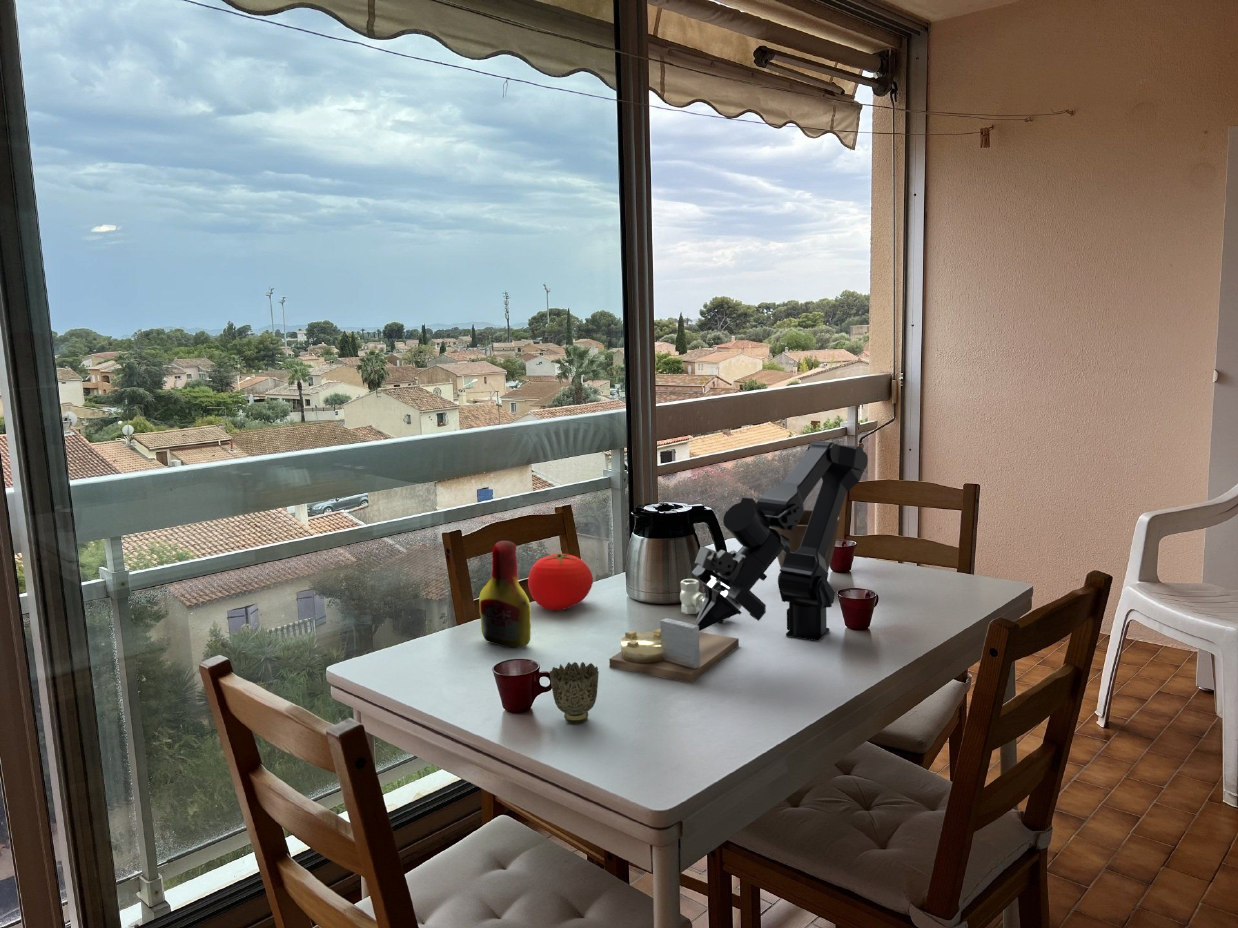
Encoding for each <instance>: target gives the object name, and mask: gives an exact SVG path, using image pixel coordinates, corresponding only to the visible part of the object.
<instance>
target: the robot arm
mask: <svg viewBox="0 0 1238 928" xmlns="http://www.w3.org/2000/svg"><path fill="white" fill-rule="evenodd" d="M868 459H869V458H868V455H867V453H866V452H865V451H864V449H863V447H861V446H859V445H847V444H846V445H845V444H838V443H835V442H833V441H821V440H820V441H819V440H815V441H813V442H810V443H809V445H808V446H807V451H806V452H805V453H804V455H803V456H802V457H801V459H800V460H799V461H798V463H796V465H795V466H794V467H793V469H792V470H791V472H790V473H789V474H788V475H787V476H786V478H785V479H784V481H782V482H781V483H780V484H779V485H775V486H774V487H773V486H772V488H771V487H770V488H769V489H767V491H765V492H764V493H763V494H762V495H761V496H760V497H759V498H758V499H757V501H755V500H754V498H752V497H745V496H743V497H742V498H741V500H740V502H737V503H735V504H733V505H732V506H731V507H729V508H728V509H727V511H725V513H724V514H723V517H722V518H723V519H722V521H723V525H724V527H725V528H726V529H727V531H728V533H730V534H731V536H732V537H734V539H735V540H737V542H738V543H739V544H740V545H741V547H740V549H739V550H738V551H736V550H734V549H732V550H730V551H726V550H724V549H720V550H719V551H716V550H713V549H711V548H708V547H705V546H702V545H701V546H700V547H699V550H698V552H697V556H696V558H695V559H694V560H695V561H694V564H696V566H695V568H694V569H693V570H692V572H691V573H692V575H694V576H695V577H696V578H697V580H698V581H700V582H702V587H703V590H704V594H705V599H704V602H703V605H702V607H701V608H700V611H699V612H698V615H697V618H696V620H695V622H694V624H693V625H698V626H699V632H702V631H703V630H704V629H707V628H709V627H710V626H713V625H715V624H718V623H717V622H720V621H722V620H724V621H725V620H726V619H730V618H731V617H733V616H735V615H739V616H740V615H741V614H742V613H743V612H741V610H740V609H741V608H744V609H745V610H746V611H747V613H749V616H750V617H752V618H753V619H755V620H757V621H758V622H759V621H760V620H762V618H763V616H765V614H766V612H767V611H766V608H767V605H766V604H765V603H764V602H763V601H762V600H761V599H760V598H759V597H757V596H756V595H755V593H753V591H751V589H752V588H753V587H754V586H755V584H756V583H757V582H758V581H759V580H761V581H764V582H765V580H766V579H767V578H768V576H767V574H765V572H766V571H767V570H768V569H769V567H771V565H772V564H773V562H774V561H775V560H776V559H777V556H778V555H779V554H780V552H781V551H783V552H784V553H786V555H785V559H784V562H783V565H782V567H781V568H780V569H779V574H778V575H777V576H778V577H777V584H778V585H777V586H778V589H779V594H780V598H781V601H782V602H784V603H785V602H787V603H788V608H787V609H786V630H787V632H786V633H785V636H787V637H790V638H796V639H802V640H810V641H814V642H815V641H816V642H820V641H821V640H822V639H823V638H824V637H825V636H826V635H827V634H829V632H830V630H831V628H829V627H827V608H831V607H833V604H834V601H835V597H836V591H835V589H834V588H833V586H832V584H830V582H829V581H828V578H829V570H827V566H826V563H825V555H826V552H827V549H828V546H829V544H830V541H831V538H832V535H833V532H834V529H835V526H836V523H837V520H838V517H839V518H840V513H841V510H842V508H843V504H844V503H845V502H844V501H845V498H846V496H847V493H848V492H849V491H850V490H851V489H852V488H853V487H855V486H856V485H857V484H858V483H859V482H860V481H861V479H862V476H863V473H864V472H865V470H866V469H867V466H868V463H869V462H868V461H869V460H868ZM820 480H822V481H821V485H820V488H819V490H818V494H817V498H816V500H815V504H814V506H813V508H812V510H813V511H812V514H811V517H810V520H809V523H808V526H807V528H806V531H805V534H804V537H803V540H802V543H801V546H800V548H799V549H798V550H797V551H796V552H795V553H794V552H790V546H789V542H790V539H789V538H787V537H786V536H784V535H782V534H779V533H778V532H777V531H776V530H774V529H772V528H777V529H784V530H793V529H794V528H795V527H796V526H797V525H798V523H799V521H800V519H801V517H802V516H803V514H804V510H805V507H804V502H805V500H806V499H807V497H808V496H809V495H810V493H811V492H812V491H813V489H814V488H815V487H816V486H817V484H818V482H819V481H820ZM729 617H730V618H729Z"/></svg>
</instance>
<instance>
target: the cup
mask: <svg viewBox="0 0 1238 928" xmlns="http://www.w3.org/2000/svg"><path fill="white" fill-rule="evenodd" d="M599 672H600V671H599V668H598V666H597V665H596V666H595V665H594V664H593V663H592V662H590V663H589V664H587V665H586V663H585V662H583V661H582V662H581V663H580V666H579V663H577V662H576V661H574V662H572V663H571V662H568V663H566V665H565V667H564V666H563V665H562V664H560V665H559V667H556V666H555V667H554V666H553V667H552V669H551V670H549V677H550V679H549V680H550V684H551V689H552V691H551V692H552V695H553V699H554V704H555V705H556V707H557V709H559V711H561V712H562V713H563V717H564V720H565V722H567V723H569V724H573V725H574V724H575V725H578V724H583V723H585V722H587V720H588V719H589V718H588V717H589V711H591V710H592V708H593V707H594V706H595V704H596V701H597V696H598V689H599V687H598V686H599Z"/></svg>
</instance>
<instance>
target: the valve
mask: <svg viewBox="0 0 1238 928" xmlns="http://www.w3.org/2000/svg"><path fill="white" fill-rule="evenodd" d="M699 589H700V580H699V579H695V578H686V579H682V580H681V581H680V594H679V599H680V600H679V601H680V602H681V605H680V606H681V607H680V608H681V613H682V614H686V615H697V614H699V612H700V610H701V607H702V605H703V602H704V599H705V593H702V592H700V590H699ZM730 618H731V617H729V618H728V619H730ZM724 621H725V619H724V620H722V621H720V622H717V623H716V624H719V625H721V624H723V623H724Z"/></svg>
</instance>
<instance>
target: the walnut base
mask: <svg viewBox="0 0 1238 928" xmlns="http://www.w3.org/2000/svg"><path fill="white" fill-rule="evenodd" d="M657 629H661V626H660V627H658V628H657ZM654 631H655V630H653V631H652V632H654ZM739 646H740V640H739V638H738V637H732V636H724V635H719V634H714V633H709V632H708V633H707V632H702V631H699V650H700V666H698V667H696V668H690V667H687V666H683V665H680V664H676V663H672V662H669V661H665V660H662V661H658V662H651V663H639V662H632V661H629V660H626V659H625V658H623V657H622V655H621V651H620V652H618V653H617V654H614V655H613V656H612V657H610V658H609V662H608V663H609V668H613V669H618V670H624V671H628V672H633V673H639V674H644V675H649V676H654V677H660V678H663V679H670V680H674V681H678V682H679V681H681V682H685V683H689V684H692V683H694V681H695V680H697V679H699V678H700V677H701V676H702V675H703V674H705V673H706V672H707V671H708V670H710V669H712V667H714V666H715V665H716V664H718V663H719V662H720V661H722V660H723V659H724V658H726V657H727V656H728V655H730V653H732V652H734V651H735V650H736V649H737V648H739Z"/></svg>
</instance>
